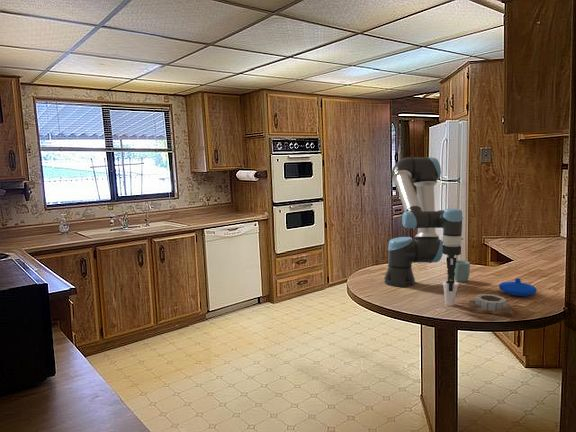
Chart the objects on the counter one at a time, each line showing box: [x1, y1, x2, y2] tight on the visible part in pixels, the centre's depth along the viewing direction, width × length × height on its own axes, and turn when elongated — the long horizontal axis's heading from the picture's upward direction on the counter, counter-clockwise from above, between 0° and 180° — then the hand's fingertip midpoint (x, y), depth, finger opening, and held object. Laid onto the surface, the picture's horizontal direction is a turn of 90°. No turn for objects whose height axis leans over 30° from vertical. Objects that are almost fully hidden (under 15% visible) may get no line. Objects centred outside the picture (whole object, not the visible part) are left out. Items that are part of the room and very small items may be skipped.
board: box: [468, 299, 514, 316], centre depth 184 cm, size 16×12×1 cm
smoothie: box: [442, 280, 459, 307], centre depth 190 cm, size 6×6×14 cm
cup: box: [454, 260, 471, 283], centre depth 226 cm, size 8×8×10 cm
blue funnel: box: [498, 278, 537, 297], centre depth 204 cm, size 16×16×7 cm
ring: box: [474, 293, 507, 311], centre depth 184 cm, size 12×12×4 cm
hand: (450, 293), depth 190 cm, fingers open, 12 cm apart
